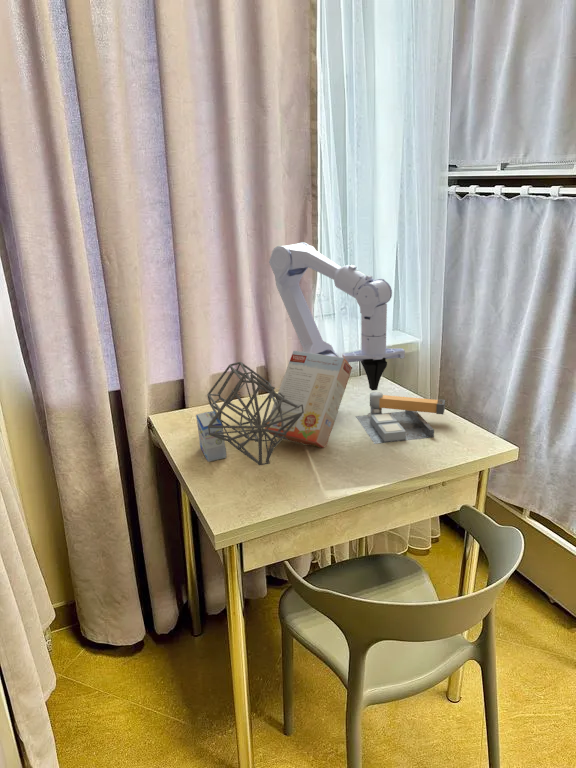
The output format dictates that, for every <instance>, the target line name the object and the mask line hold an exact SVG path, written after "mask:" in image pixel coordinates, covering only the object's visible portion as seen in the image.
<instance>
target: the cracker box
mask: <svg viewBox="0 0 576 768" xmlns="http://www.w3.org/2000/svg"><path fill="white" fill-rule="evenodd" d="M352 370H353V367H352V366H351V364H350V362H349V363H348V362H347V361H346V360H345V359H344V358H342V357H341V356H339V357H335V356H328V355H320V354H313V353H307V352H302V351H300V350H299V351H298V350H293V351H292V354H291V357H290V359H289V361H288V365H287V367H286V369H285V373H284V376H283V378H282V381H281V384H280V387H279V388H278V392H277V394H278V395H279V396H281V395H280V394H279V393H281V394H283V395H284V396H285V397H284V398H285V399H287V400H289V401H290V402H292V403H294V404H296V405H298V406H299V405H301V404H303V410H304V413H302V416H300V418H299V419H298V420H297V421H296V422H295V424H294V425H293V426H292V427H291V429H290V430H289V431H288V432H287V433H286V434H287V435H280V434H278V435H277V437H276V439H277V438H278V439H280V438H281V437H282V436H284V438H283V439H282V440H286V441H290V442H294V443H297V444H302V445H304V446H305V445H308V446H312V447H315V448H319V449H324V448H325V447H327V445H328V442H329V439H330V436H331V433H332V430H333V427H334V425H335V422H336V418H337V416H338V412H339V409H340V406H341V403H342V401H343V400H342V399H343V398H344V394H345V391H346V389H347V385H348V383H349V379H350V376H351V373H352ZM281 397H282V396H281ZM275 402H277V399H276V398H275ZM277 404H278V402H277ZM275 407H276V405H275V403H274V402H273V405H272V408H271V411H270V414H271V412H272V411H273V410H274V408H275ZM293 408H295V407H294V406H291V405H289V404H287V403H285V402H282V403H281V409H282V414H283V413H285V412H287V411H289V410H291V409H293ZM278 412H279V411H278V410H276V411H275V413H274V414H273V416H272V417H271V418H270V420H271V419H273V418H274V417H275V416H276V415H277V413H278ZM301 412H302V406H301V407H299V408H296V409H294V410H292V411H290V412H288V413H286V414H284V415H282V416H283V419H284V418H287V417H290V416H292V415H295V414H298V413H301ZM270 414H269V415H270ZM279 415H280V413H279ZM279 415H278V416H279ZM292 419H293V418H292ZM292 419H289V420H286V421H283V424H284V425H285V424H287V423H288V422H289V421H291V420H292ZM278 420H281V418H280V417H278V418H276V419H275V420H274V421H273V422H275V421H278ZM269 423H271V421H270V422H268V423H267V424H269ZM290 425H291V424H290ZM290 425H288V426H287V427H286V428H284V430H285V431H286V429H287V428H288V427H289V426H290ZM281 427H282V426H281V422H280V423H277V424H274V425H271V426H270V427H269V428H268V429H269V430H273V431H278V430H279V429H280V428H281ZM266 428H267V427H265V428H264V429H266ZM281 432H283V430H281ZM283 433H284V432H283ZM268 434H271V435H272V437H273V436H274V435H275V433H270V432H268Z"/></svg>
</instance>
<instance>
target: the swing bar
mask: <svg viewBox="0 0 576 768" xmlns="http://www.w3.org/2000/svg"><path fill="white" fill-rule="evenodd" d="M369 406H370V408H371V407H372V408H382V409H389V410H391V409H392V410H398V411H405V410H408V411H417V412H418V413H419V412H421V413H429V414H430V413H432V414H436V415H444V414H445V409H446V408H445V407H446V399H433V398H431V399H430V398H420V397H408V396H399V395H398V396H397V395H387V394H384V393H382V392H380V391H378V392H377V391H373V392H370V393H369Z"/></svg>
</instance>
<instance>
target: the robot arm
mask: <svg viewBox="0 0 576 768" xmlns="http://www.w3.org/2000/svg"><path fill="white" fill-rule="evenodd" d="M268 263H269V266H270V268H271V270H272V272H273V275H274V280H275V286H276V288H277V291H278V293H279V297H280V298H281V300H282V302H283V305H284V308H285V309H286V312H287V314H288V316H289V317H288V318H289V320H290V322H291V323H292V326H293V328H294V331H295V333H296V336H297V338H298V341H299V343H300V345H301V347H302V351H301V352H307V353H313V354H320V355H328V356H335V357H340V356H339V354H337V352H336V351H335V350H334V348H333V346H332V344H330V343H328V342H326V341H325V340H323V338H322V336H321V333H320V330H319V328H318V326H317V323H316V321H315V319H314V317H313V313H312V312H311V310H310V307H309V304H308V303H307V300H306V298H305V295H304V294H303V291H302V289H301V285H300V284H301V283H300V282H301V279H302V278H303V276H304V275H305V273H306V272H307V270H308V269H311V270H313V271H315V272H317V273H319V274H320V275H323V276H325V277H327V278H329V279H332V280H333V282H334V285H335V287H336V288H337V289H338V290H340V291H342V292H344V293H346V294H347V295H349V296H351V297H352V298H354V299H355V301H356V304H358V307H359V311H360V315H361V319H360V320H361V333H360V335H361V338H360V341H361V342H360V343H361V344H360V346H361V347H360V348H361V349H360V350H356V351H351V352H343V353H341V354H342V357H341V358H344V359H345V360H346V361H347V362H348V363H349V364H350V363H354V362H355V363H356V362H360V363H361V365H362V367H363V369H364V372H365V375H366V377H367V381H368V387H369V390H371V391H378V389H379V388H378V387H379V384H380V380H381V377H382V376H383V374H384V371H385V370H386V369H387V366H388V361H387V360H388V359H389V360H391V359H402V360H403V359H405V358H406V354H405V353H406V351H405V349H404V348H399V347H398V348H388V347H387V318H388V317H387V315H388V312H387V311H388V309H387V308H388V303H389V302H390V301H391V299H392V297H393V290H392V287H391V285H390V283H388V282H387V281H386V280H385V279H384V278H377V279H375V278H373V276H372V275H370V274H368V275H367V274H365V273H363V272H361V271H360V270H357V266H356V265H354V264H351V265H347V264H345V265H343V266H340V265H339V264H337V263H336V262H335V261H333V260H331V259H330V258H328V257H327V256H325V255H324V254H322V253H320V252H319V251H317V250H316V248H315V247H314V246H313V245H309V243H306V242H304V241H301V242H298V243H293V244H288V245H287V244H286V245H278V246H276V247H274V248H273V250H272V251H271V255H270V258H269V261H268Z"/></svg>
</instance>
